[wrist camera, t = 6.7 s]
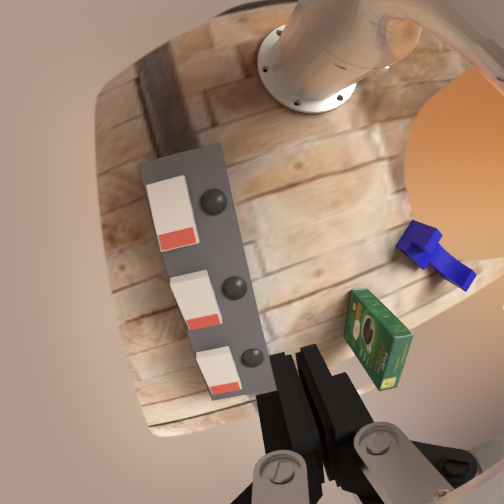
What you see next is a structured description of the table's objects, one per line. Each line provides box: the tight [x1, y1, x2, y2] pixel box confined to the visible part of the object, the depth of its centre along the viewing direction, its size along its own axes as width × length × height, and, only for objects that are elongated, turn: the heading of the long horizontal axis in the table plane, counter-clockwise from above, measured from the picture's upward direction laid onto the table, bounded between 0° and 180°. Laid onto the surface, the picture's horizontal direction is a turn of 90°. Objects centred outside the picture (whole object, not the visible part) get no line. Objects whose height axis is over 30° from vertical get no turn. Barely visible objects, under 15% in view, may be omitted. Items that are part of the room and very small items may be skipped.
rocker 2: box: [170, 270, 222, 330], centre depth 35 cm, size 4×7×2 cm, turn 12°
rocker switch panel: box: [138, 143, 276, 400], centre depth 38 cm, size 9×32×4 cm, turn 12°
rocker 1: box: [146, 175, 200, 252], centre depth 32 cm, size 4×7×2 cm, turn 12°
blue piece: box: [396, 220, 476, 291], centre depth 39 cm, size 12×4×6 cm, turn 55°
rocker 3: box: [196, 346, 242, 395], centre depth 37 cm, size 4×7×2 cm, turn 12°
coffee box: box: [344, 288, 413, 391], centre depth 37 cm, size 8×3×13 cm, turn 179°
